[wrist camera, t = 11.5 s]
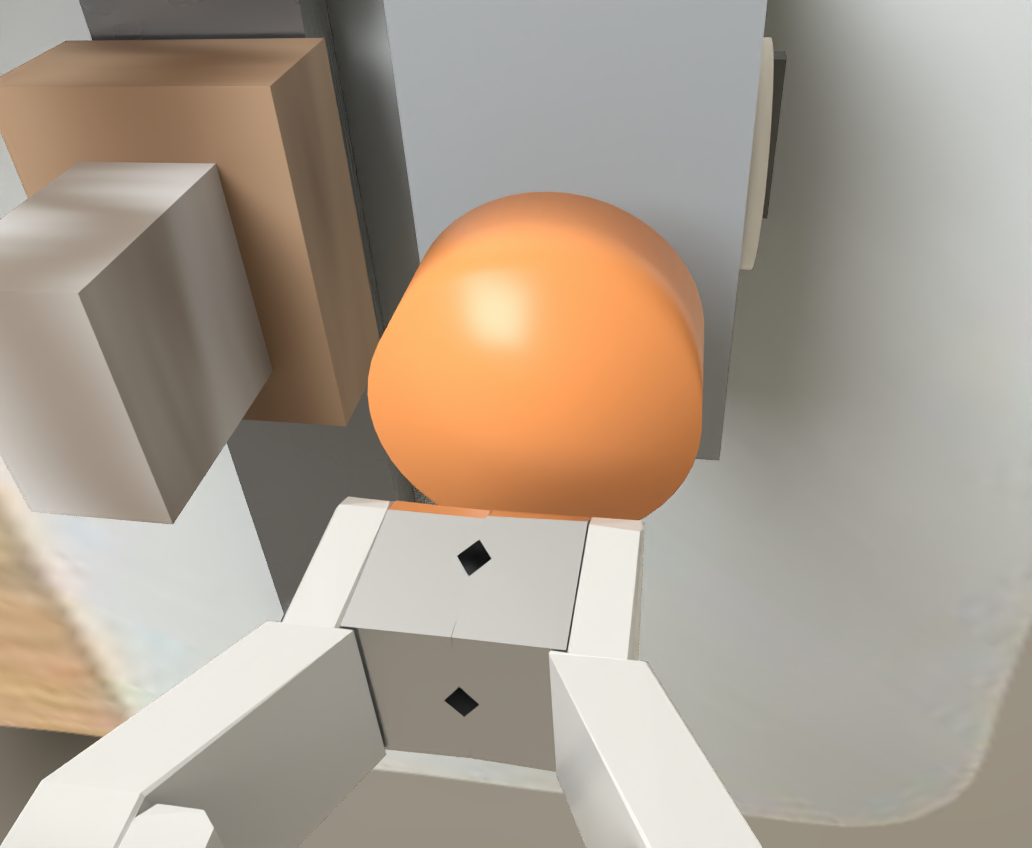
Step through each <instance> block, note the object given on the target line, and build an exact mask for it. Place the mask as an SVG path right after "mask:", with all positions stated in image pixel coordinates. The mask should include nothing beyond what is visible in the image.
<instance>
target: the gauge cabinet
mask: <svg viewBox="0 0 1032 848" xmlns="http://www.w3.org/2000/svg"><path fill="white" fill-rule="evenodd" d="M383 3H384V10H385V17H386V24H387V31H388V38H389V46H390V53H391V60H392V67H393V74H394V81H395V88H396V96H397V103H398V110H399V117H400V124H401V131H402V138H403V146H404V153H405V160H406V167H407V174H408V181H409V188H410V195H411V203H412V210H413V217H414V224H415V231H416V238H417V245H418V253H419V260H420V263H421V261H422V259H423V257H424V256H425V254H426V252H427V251H428V249H429V247H430V246H431V244H432V243H433V242H434V241H435V240H436V238H437V237H438V236H439V235H440V234H441V232H443V231H444V230H445V229H446V228H447V227H448V226H449V225H450V224H452V223H453V222H454V221H455V220H456V219H458V218H459V217H461V216H462V215H464V214H466V213H467V212H469V211H470V210H472V209H474V208H476V207H478V206H481V205H483V204H485V203H487V202H489V201H493V200H496V199H499V198H502V197H505V196H510V195H515V194H521V193H527V192H548V191H549V192H562V193H572V194H576V195H581V196H586V197H591V198H594V199H597V200H600V201H603V202H606V203H609V204H612V205H614V206H616V207H618V208H620V209H622V210H624V211H626V212H628V213H630V214H632V215H633V216H635V217H637V218H638V219H640V220H641V221H643V222H644V223H646V224H647V225H649V226H650V227H651V228H652V229H653V230H655V231H656V232H657V233H658V234H659V235H661V236H662V237H663V238H664V239H665V240H666V241H667V242H668V243H669V245H670V246H671V247H672V248H673V249H674V250H675V251H676V252H677V253H678V255H679V256H680V258H681V259H682V261H683V262H684V264H685V265H686V267H687V268H688V270H689V272H690V274H691V276H692V278H693V280H694V282H695V284H696V287H697V290H698V293H699V296H700V299H701V302H702V309H703V315H704V362H703V399H702V432H701V438H700V444H699V449H698V452H697V455H696V458H695V459H707V460H719V457H720V448H721V438H722V429H723V419H724V410H725V400H726V391H727V381H728V372H729V362H730V353H731V343H732V333H733V324H734V314H735V305H736V295H737V286H738V276H739V269H749V270H752V268H753V266H754V263H755V259H756V254H757V249H758V244H759V237H760V231H761V223H762V218H767V214H768V205H769V197H770V189H771V181H772V172H773V164H774V156H775V148H776V139H777V131H778V123H779V115H780V107H781V98H782V90H783V82H784V74H785V65H786V55H785V52H773V41H772V38H771V37H764V28H765V19H766V9H767V0H383Z"/></svg>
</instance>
